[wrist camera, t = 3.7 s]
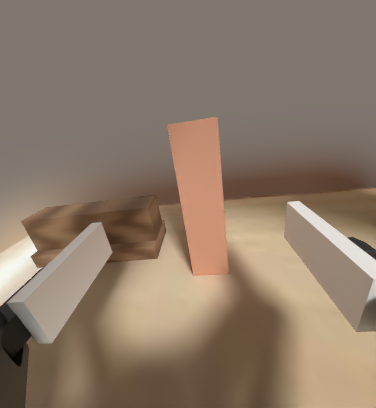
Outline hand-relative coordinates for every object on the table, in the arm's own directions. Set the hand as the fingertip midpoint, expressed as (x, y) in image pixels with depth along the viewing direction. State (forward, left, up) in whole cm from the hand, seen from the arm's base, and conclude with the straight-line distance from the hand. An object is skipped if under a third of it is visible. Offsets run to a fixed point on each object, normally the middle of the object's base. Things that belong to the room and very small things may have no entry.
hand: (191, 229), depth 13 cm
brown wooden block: (+15, -12, -9) cm, 21 cm away
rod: (-1, -7, -9) cm, 11 cm away
